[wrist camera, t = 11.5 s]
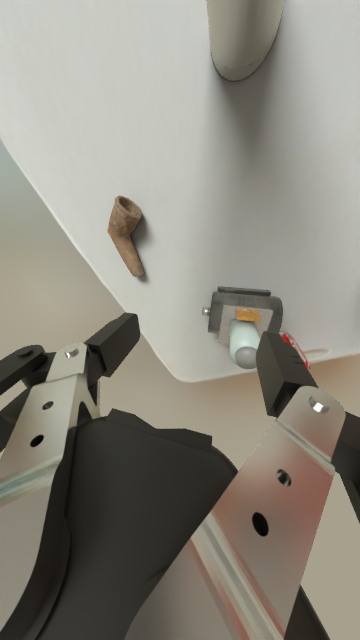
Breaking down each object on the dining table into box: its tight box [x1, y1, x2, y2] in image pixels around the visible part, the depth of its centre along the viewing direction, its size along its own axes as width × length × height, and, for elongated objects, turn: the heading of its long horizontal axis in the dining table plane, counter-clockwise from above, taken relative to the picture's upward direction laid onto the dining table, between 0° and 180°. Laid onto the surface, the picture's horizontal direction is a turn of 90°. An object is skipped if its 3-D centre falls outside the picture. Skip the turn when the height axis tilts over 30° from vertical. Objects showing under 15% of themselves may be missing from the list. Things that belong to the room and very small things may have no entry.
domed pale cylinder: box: [230, 319, 260, 369], centre depth 29 cm, size 5×5×9 cm
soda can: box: [279, 332, 310, 372], centre depth 39 cm, size 7×7×12 cm
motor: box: [202, 286, 283, 347], centre depth 36 cm, size 10×16×14 cm, turn 90°
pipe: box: [108, 196, 144, 277], centre depth 38 cm, size 6×17×10 cm
